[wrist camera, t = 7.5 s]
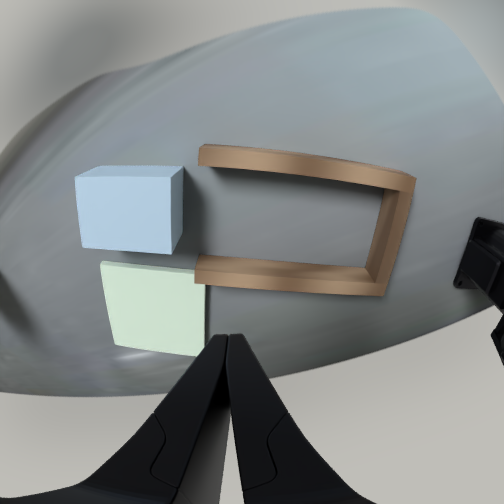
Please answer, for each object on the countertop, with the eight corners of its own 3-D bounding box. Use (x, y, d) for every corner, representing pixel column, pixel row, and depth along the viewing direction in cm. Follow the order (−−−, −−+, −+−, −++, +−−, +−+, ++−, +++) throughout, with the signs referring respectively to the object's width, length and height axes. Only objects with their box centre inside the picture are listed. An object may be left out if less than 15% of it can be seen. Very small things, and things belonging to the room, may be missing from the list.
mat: (205, 270, 21) (204, 275, 21) (204, 352, 25) (204, 357, 24) (103, 260, 21) (99, 264, 20) (117, 340, 24) (115, 344, 24)
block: (184, 166, 18) (170, 177, 15) (183, 231, 20) (171, 254, 17) (100, 165, 18) (74, 177, 15) (104, 227, 20) (82, 247, 17)
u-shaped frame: (400, 170, 18) (416, 178, 16) (373, 280, 22) (383, 296, 20) (204, 144, 18) (199, 147, 16) (199, 267, 21) (194, 283, 19)
